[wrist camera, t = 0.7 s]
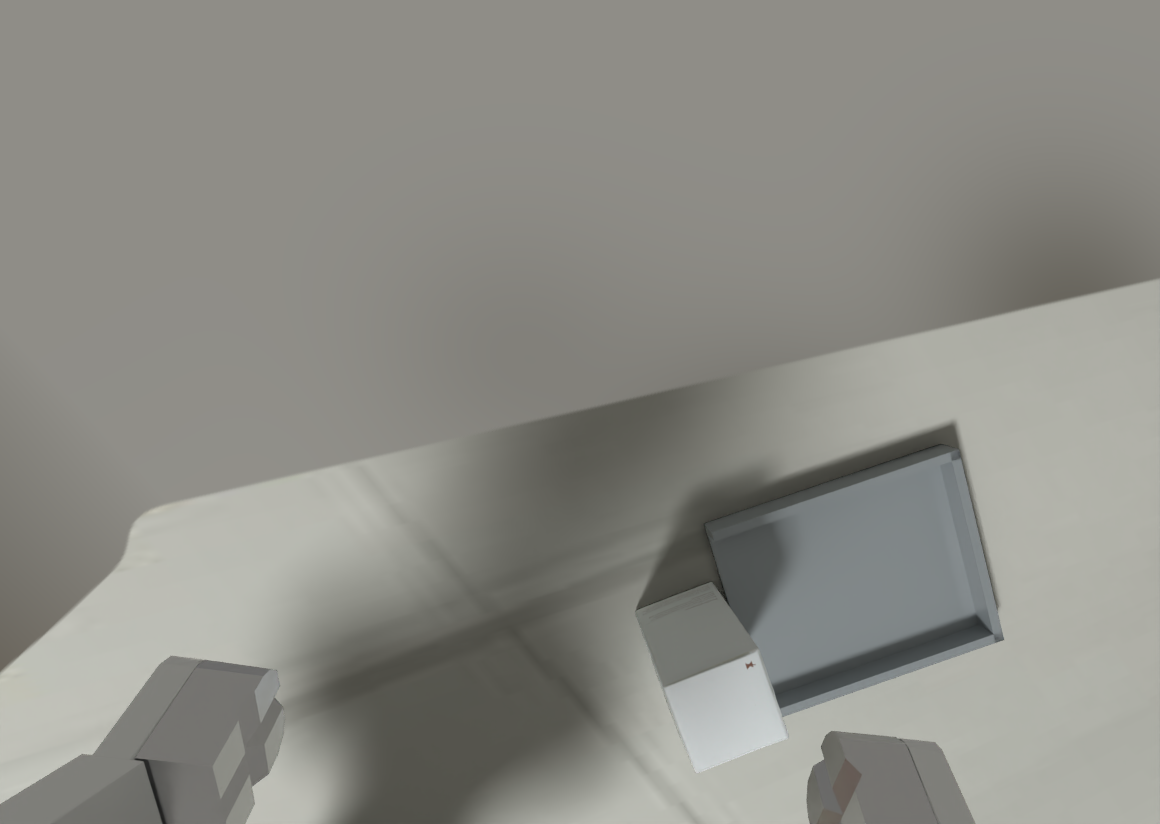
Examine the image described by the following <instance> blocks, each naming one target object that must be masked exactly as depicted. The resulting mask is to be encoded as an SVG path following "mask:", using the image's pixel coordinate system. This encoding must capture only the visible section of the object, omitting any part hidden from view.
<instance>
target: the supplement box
mask: <svg viewBox="0 0 1160 824" xmlns="http://www.w3.org/2000/svg"><path fill="white" fill-rule="evenodd" d="M635 613H636V616H637V619H638V622H639V625H640V628H641V631H642V634H643V636H644V639H645V642H646V645H647V648H648V651H649V654H650V657H651V659H652V662H653V665H654V668H655V671H656V674H657V677H658V679H659V682H660V685H661V688H662V690H663V693H664V696H665V699H666V701H667V704H668V707H669V710H670V712H671V715H672V717H673V720H674V723H675V725H676V728H677V730H678V733H679V735H680V738H681V740H682V743H683V745H684V748H685V750H686V752H687V755H688V757H689V759H690V762H691V764H692V766H693V769H694V771H695V773H700V772H702V771H705V770H707V769H710V768H712V767H715V766H718V765H720V764H722V763H725V762H728V761H730V760H733V759H735V758H738V757H740V756H743V755H745V754H748V753H750V752H753V751H755V750H758V749H761V748H764V747H766V746H769V745H772V744H775V743H777V742H780V741H783V740H786V739H788V738H789V734H788V731H787V728H786V725H785V722H784V720H783V717H782V714H781V711H780V708H779V705H778V702H777V699H776V697H775V693H774V690H773V687H772V685H771V683H770V680H769V677H768V674H767V671H766V668H765V665H764V662H763V659H762V656H761V653H760V650H759V648H758V647H757V645H756V644H755V643H754V641H753V640H752V638H751V637H750V635H749V634H748V632H747V631H746V630H745V628H744V627H743V625H742V624H741V622H740V621H739V620H738V618H737V617H736V615H735V614H734V612H733V611H732V610H731V608H730V607H729V605H728V604H727V602H726V601H725V600H724V598H723V597H722V595H721V594H720V592H719V591H718V589H717V588H716V587H715V585H714V584H713V582H709V583H706V584H704V585H701V586H698V587H696V588H693V589H690V590H688V591H685V592H682V593H680V594H677V595H675V596H672V597H669V598H667V599H664V600H661V601H659V602H656V603H654V604H651V605H648V606H646V607H643V608H641V609H639V610H636V612H635Z"/></svg>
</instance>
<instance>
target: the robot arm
mask: <svg viewBox="0 0 1160 824" xmlns="http://www.w3.org/2000/svg"><path fill="white" fill-rule="evenodd" d="M279 687H280V683H279V678H278V673H277V670H273V669H266V668H259V667H252V666H245V665H238V664H231V663H224V662H217V661H209V660H202V659H194V658H185V657H177V656H170V657H169V658H168V659H166V660H165V661H164V662H162V663H161V664H160V665H159V666H158V667H157V669H156V670H155V671H154V673H153V674H152V675H151V677H150V678H149V679H148V681H147V682H146V683H145V685H144V686H143V688H142V689H141V690H140V692H139V693H138V694H137V696H136V697H135V698H134V700H133V701H132V702H131V704H130V705H129V706H128V708H127V709H126V711H125V712H124V713H123V715H122V716H121V717H120V719H119V720H118V721H117V723H116V724H115V725H114V727H113V728H112V730H111V731H110V732H109V734H108V735H107V736H106V738H105V739H104V740H103V742H102V743H101V744H100V746H99V747H98V749H97V750H96V751H95V753H94V754H93V755H87V754H81V755H80V756H78V757H76V758H75V759H73V760H72V761H70V762H68V763H67V764H65V765H63V766H62V767H60V768H59V769H57V770H55V771H54V772H52V773H50V774H49V775H47V776H45V777H44V778H42V779H41V780H39V781H37V782H36V783H34V784H32V785H31V786H29V787H28V788H26V789H24V790H23V791H21V792H19V793H18V794H16V795H14V796H13V797H11V798H10V799H8V800H6V801H5V802H3V803H1V804H0V824H245V823H246V821H247V819H248V817H249V815H250V813H251V810H252V808H253V806H254V804H255V802H254V796H253V791H252V786H253V785H255V784H256V783H257V782H259V781H260V780H261V779H263V778H264V777H265V776H267V775H268V774H269V773H270V771H271V768H272V766H273V764H274V762H275V760H276V757H277V755H278V752H279V748H280V745H281V741H282V738H283V734H284V722H285V716H284V708H283V706H282V705H281V704H280V703H279V702H278V701H277V700H276V699H275V698H274V697H275V695H276V693H277V691H278V689H279ZM821 749H822V753H823V756H824V760H822V761H821V762H819V763H818V764H816V765H814V766H813V768H812V771H811V774H810V776H809V779H808V785H807V800H806V801H807V810H808V818H809V823H810V824H975V821H974V819H973V817H972V815H971V813H970V810H969V808H968V806H967V804H966V802H965V799H964V797H963V795H962V793H961V791H960V788H959V786H958V784H957V782H956V780H955V777H954V775H953V773H952V771H951V769H950V766H949V764H948V762H947V760H946V758H945V755H944V753H943V751H942V749H941V748H940V747H939V746H938V745H937V744H936V743H935V742H928V741H919V740H909V739H898V738H896V737H889V736H879V735H869V734H858V733H848V732H838V731H831V732H829V733H828V734H827V735H826V736H825V738H824V740H823V743H822V745H821Z"/></svg>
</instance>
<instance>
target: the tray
mask: <svg viewBox="0 0 1160 824" xmlns="http://www.w3.org/2000/svg"><path fill="white" fill-rule="evenodd" d="M704 526H705V529H706V532H707V536H708V539H709V542H710V545H711V549H712V552H713V555H714V559H715V562H716V565H717V569H718V572H719V575H720V579H721V582H722V585H723V589H724V592H725V595H726V599H727V602H728V605H729V607H730V608H731V610H732V611H733V612H734V614H735V615H736V617H737V618H738V620H739V621H740V622H741V624H742V625H743V627H744V628H745V630H746V631H747V632H748V634H749V635H750V637H751V638H752V640H753V641H754V643H755V644H756V645H757V647H758V648H759V650H760V653H761V656H762V659H763V662H764V665H765V668H766V671H767V674H768V677H769V680H770V683H771V685H772V687H773V690H774V693H775V697H776V699H777V702H778V705H779V708H780V711H781V714H782V717H784V716H787V715H789V714H792V713H795V712H798V711H801V710H804V709H807V708H809V707H812V706H815V705H818V704H821V703H824V702H827V701H830V700H832V699H835V698H838V697H841V696H844V695H847V694H850V693H853V692H855V691H858V690H861V689H864V688H867V687H870V686H873V685H876V684H878V683H881V682H884V681H887V680H890V679H893V678H896V677H899V676H901V675H904V674H907V673H910V672H913V671H916V670H919V669H922V668H924V667H927V666H930V665H933V664H936V663H939V662H942V661H944V660H947V659H950V658H953V657H956V656H959V655H962V654H965V653H967V652H970V651H973V650H976V649H979V648H982V647H985V646H988V645H990V644H993V643H996V642H999V641H1002V640H1004V637H1003V633H1002V629H1001V625H1000V620H999V616H998V612H997V608H996V603H995V599H994V595H993V591H992V587H991V582H990V578H989V574H988V570H987V566H986V561H985V557H984V553H983V549H982V545H981V540H980V536H979V532H978V528H977V524H976V519H975V515H974V511H973V507H972V503H971V498H970V494H969V490H968V486H967V482H966V477H965V473H964V469H963V465H962V461H961V456H960V452H959V449H956V448H953V447H950V446H946V445H943V444H939V445H936V446H933V447H930V448H927V449H925V450H922V451H919V452H916V453H913V454H910V455H907V456H904V457H901V458H898V459H895V460H892V461H889V462H886V463H883V464H880V465H877V466H874V467H871V468H868V469H865V470H862V471H859V472H856V473H853V474H850V475H847V476H844V477H841V478H838V479H835V480H832V481H829V482H826V483H823V484H820V485H818V486H815V487H812V488H809V489H806V490H803V491H800V492H797V493H794V494H791V495H788V496H785V497H782V498H779V499H776V500H773V501H770V502H767V503H764V504H761V505H758V506H755V507H752V508H749V509H746V510H743V511H740V512H737V513H734V514H731V515H728V516H725V517H722V518H719V519H716V520H713V521H711V522H708V523H705V524H704Z"/></svg>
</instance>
